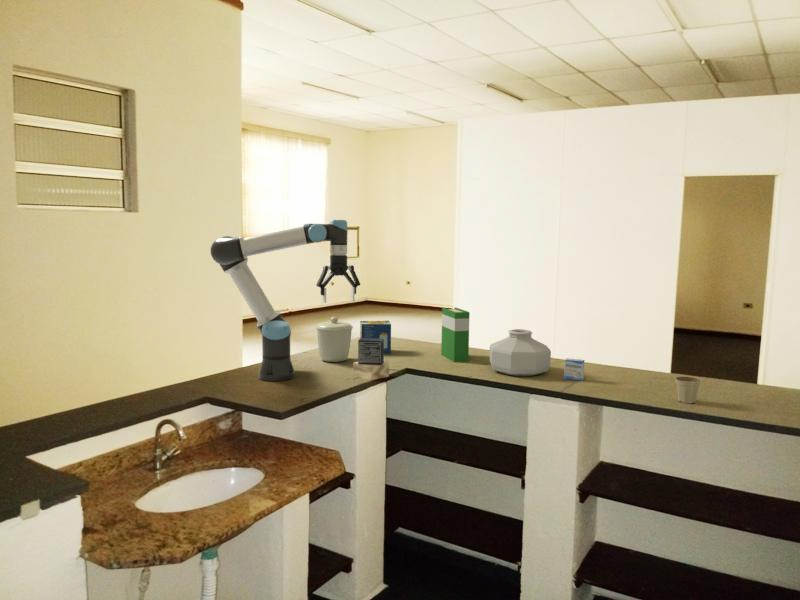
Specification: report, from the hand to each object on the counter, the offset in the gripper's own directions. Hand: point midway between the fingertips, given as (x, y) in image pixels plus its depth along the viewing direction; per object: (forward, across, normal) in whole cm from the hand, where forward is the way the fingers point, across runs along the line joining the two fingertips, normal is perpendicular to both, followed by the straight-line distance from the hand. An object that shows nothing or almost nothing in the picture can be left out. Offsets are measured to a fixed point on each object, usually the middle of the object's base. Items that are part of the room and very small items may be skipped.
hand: (338, 302), depth 292 cm
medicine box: (+30, +84, -62) cm, 108 cm away
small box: (+25, +8, -19) cm, 32 cm away
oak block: (+31, +8, -19) cm, 37 cm away
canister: (+31, +6, +18) cm, 36 cm away
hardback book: (+30, +61, -3) cm, 68 cm away
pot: (+30, +72, -39) cm, 87 cm away
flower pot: (+30, +98, -108) cm, 148 cm away
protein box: (+31, +32, +28) cm, 52 cm away
